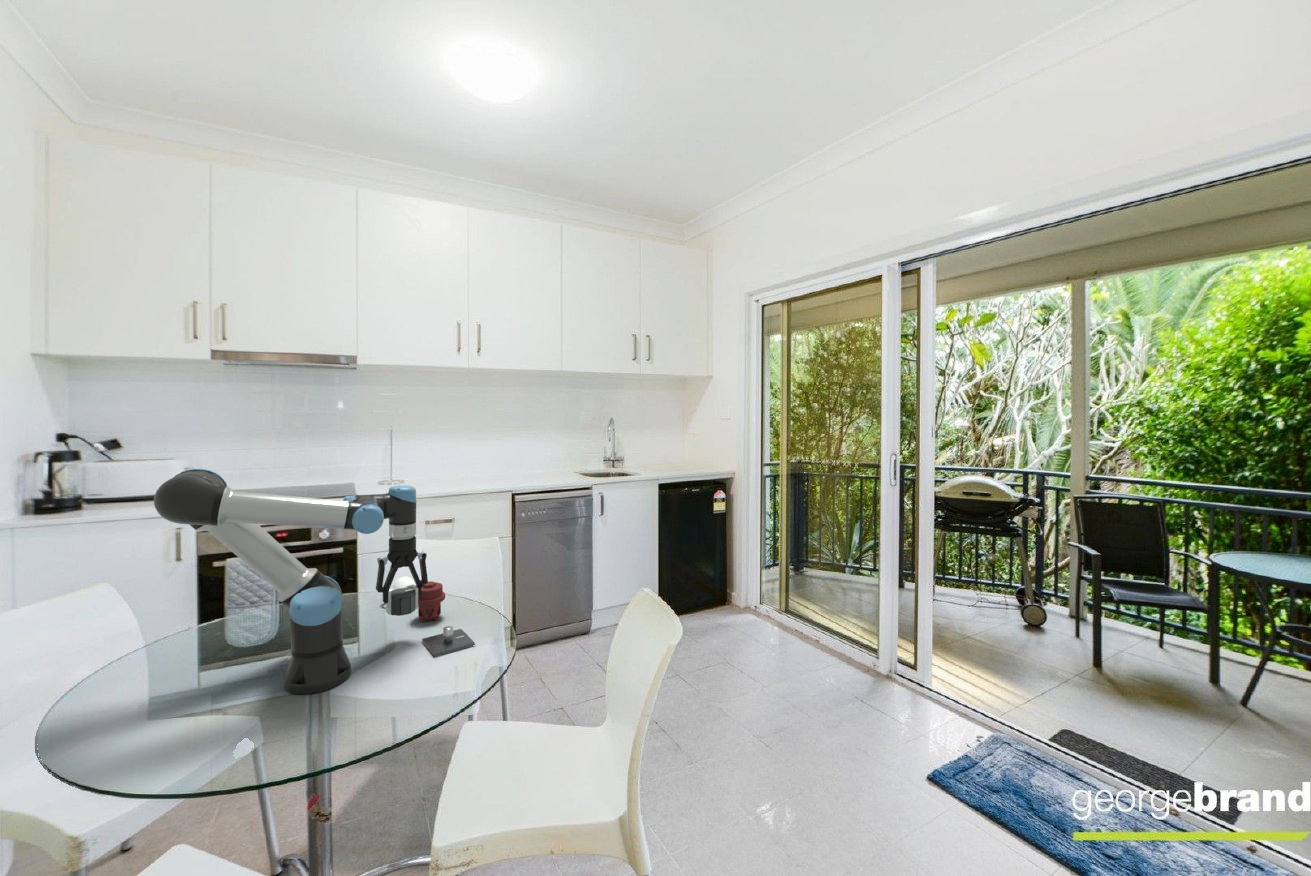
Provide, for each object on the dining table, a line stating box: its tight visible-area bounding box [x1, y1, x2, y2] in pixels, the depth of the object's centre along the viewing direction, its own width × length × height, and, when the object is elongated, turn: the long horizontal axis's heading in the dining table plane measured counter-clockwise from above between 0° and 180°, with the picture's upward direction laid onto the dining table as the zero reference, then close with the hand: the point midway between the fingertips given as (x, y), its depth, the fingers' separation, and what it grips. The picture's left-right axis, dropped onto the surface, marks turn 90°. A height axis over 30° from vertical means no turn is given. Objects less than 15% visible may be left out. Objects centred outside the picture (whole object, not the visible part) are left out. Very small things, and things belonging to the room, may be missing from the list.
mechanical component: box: [417, 581, 446, 623], centre depth 183 cm, size 12×10×10 cm
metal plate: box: [421, 625, 476, 658], centre depth 165 cm, size 12×12×5 cm
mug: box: [389, 576, 416, 592], centre depth 196 cm, size 12×10×8 cm
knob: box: [390, 588, 417, 617], centre depth 166 cm, size 7×7×6 cm
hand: (402, 609), depth 166 cm, fingers closed on knob, 7 cm apart
